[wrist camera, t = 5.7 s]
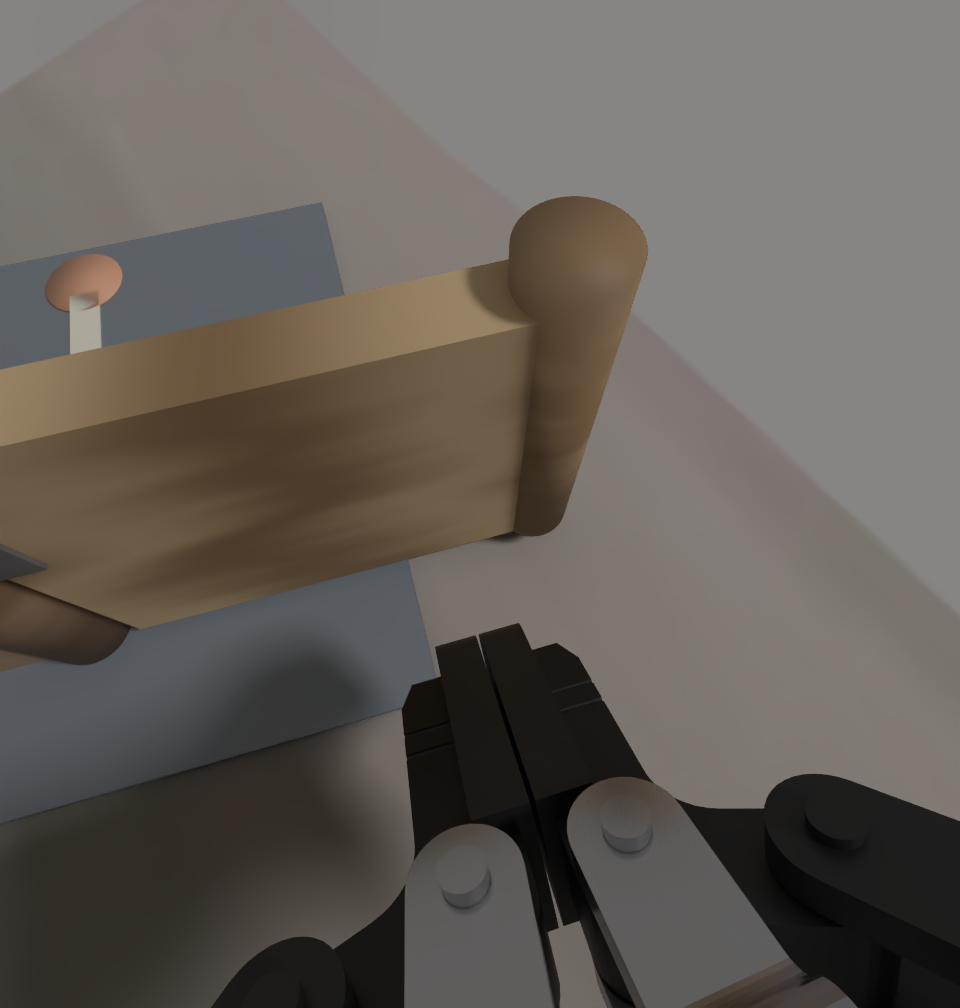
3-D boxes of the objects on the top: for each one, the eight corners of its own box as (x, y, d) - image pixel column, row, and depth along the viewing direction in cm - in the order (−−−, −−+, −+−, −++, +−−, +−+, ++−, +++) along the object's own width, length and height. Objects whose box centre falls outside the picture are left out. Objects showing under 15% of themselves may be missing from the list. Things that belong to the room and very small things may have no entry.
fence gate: (125, 645, 14) (-321, 507, 6) (121, 576, 15) (-285, 372, 7) (574, 526, 15) (669, 283, 8) (552, 466, 16) (618, 185, 8)
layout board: (-227, 890, 13) (-246, 893, 13) (-131, 301, 19) (-141, 293, 19) (440, 697, 14) (439, 695, 14) (323, 210, 21) (321, 201, 21)
